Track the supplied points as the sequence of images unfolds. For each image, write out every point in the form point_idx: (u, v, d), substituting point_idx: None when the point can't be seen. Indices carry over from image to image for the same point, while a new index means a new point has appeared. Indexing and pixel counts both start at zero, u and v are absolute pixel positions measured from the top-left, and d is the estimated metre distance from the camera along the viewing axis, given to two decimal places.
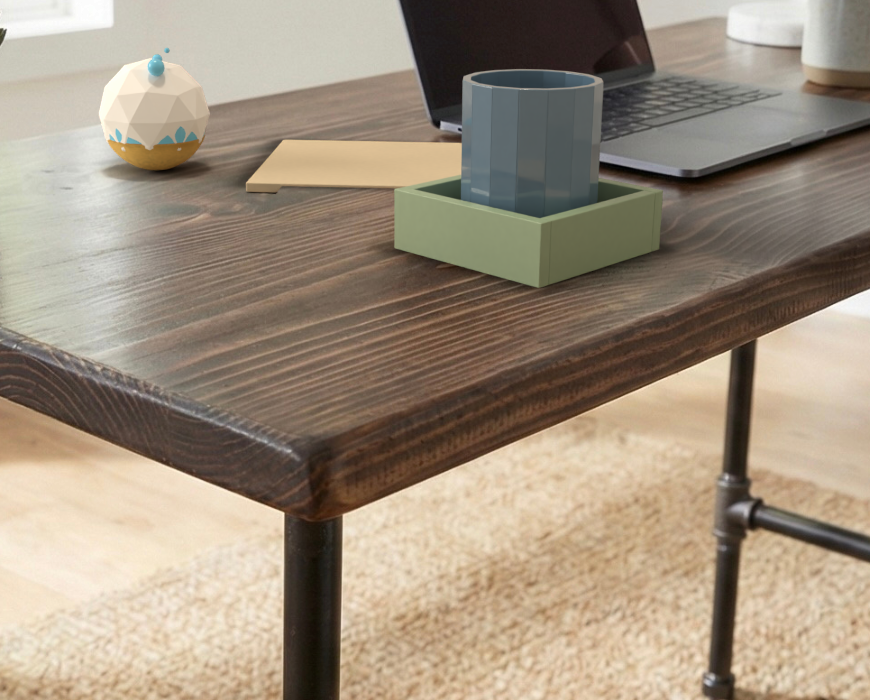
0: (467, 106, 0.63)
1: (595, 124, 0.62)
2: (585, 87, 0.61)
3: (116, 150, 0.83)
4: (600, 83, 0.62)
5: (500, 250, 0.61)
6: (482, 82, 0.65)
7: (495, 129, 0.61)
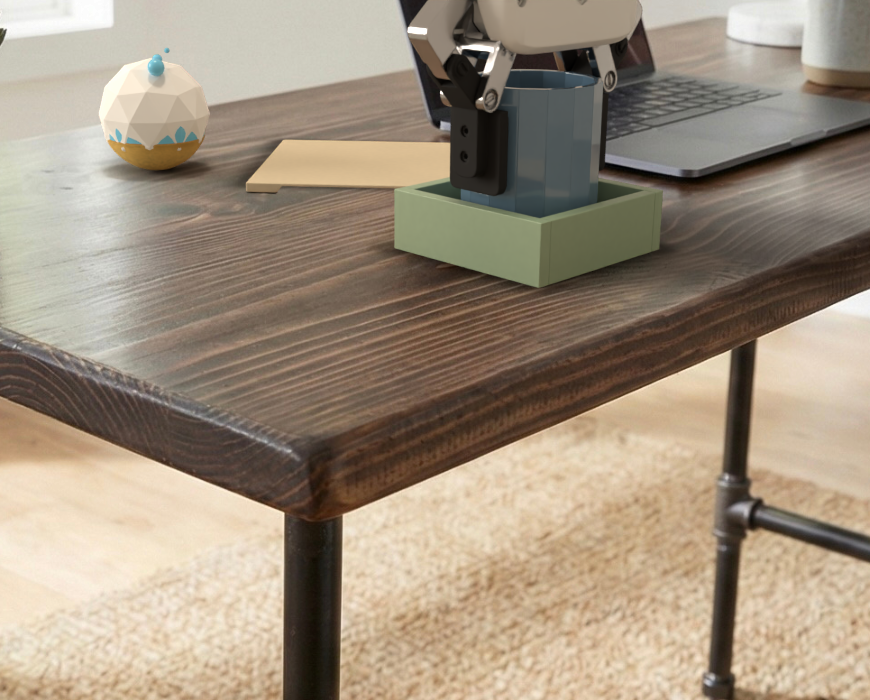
0: None
1: (595, 124, 0.62)
2: (585, 87, 0.61)
3: (116, 150, 0.83)
4: (600, 83, 0.62)
5: (500, 250, 0.61)
6: None
7: None
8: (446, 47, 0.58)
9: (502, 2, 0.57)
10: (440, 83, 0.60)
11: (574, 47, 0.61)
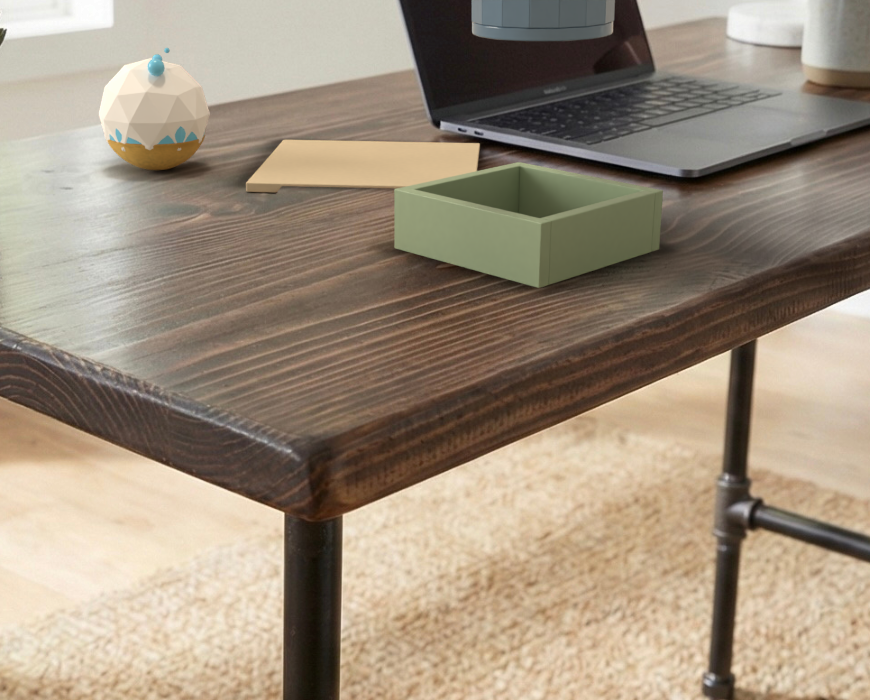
0: None
1: None
2: None
3: (116, 150, 0.83)
4: None
5: (500, 250, 0.61)
6: None
7: None
8: None
9: None
10: None
11: None
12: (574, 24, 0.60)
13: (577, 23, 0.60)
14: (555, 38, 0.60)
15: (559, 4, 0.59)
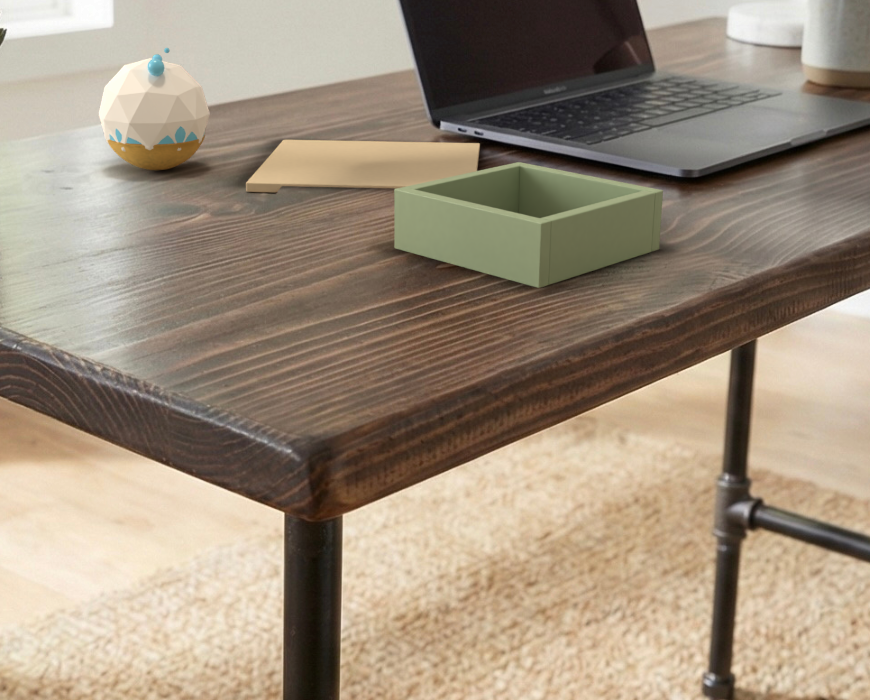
0: None
1: None
2: None
3: (116, 150, 0.83)
4: None
5: (500, 250, 0.61)
6: None
7: None
8: None
9: None
10: None
11: None
12: None
13: None
14: None
15: None
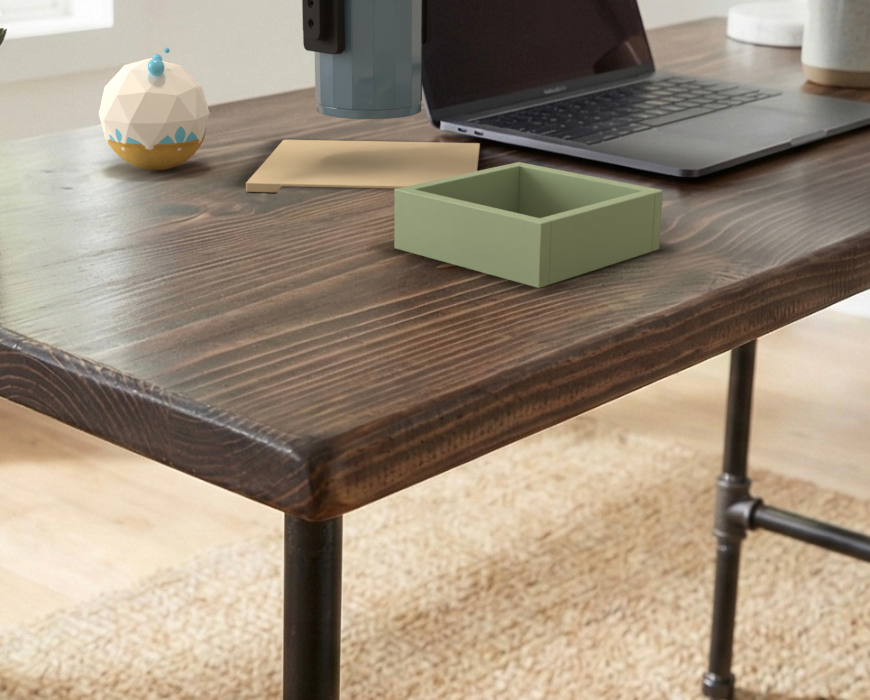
0: None
1: (415, 0, 0.80)
2: None
3: (116, 150, 0.83)
4: None
5: (500, 250, 0.61)
6: None
7: None
8: None
9: None
10: None
11: None
12: (386, 107, 0.81)
13: (388, 106, 0.81)
14: (371, 117, 0.81)
15: (374, 92, 0.81)
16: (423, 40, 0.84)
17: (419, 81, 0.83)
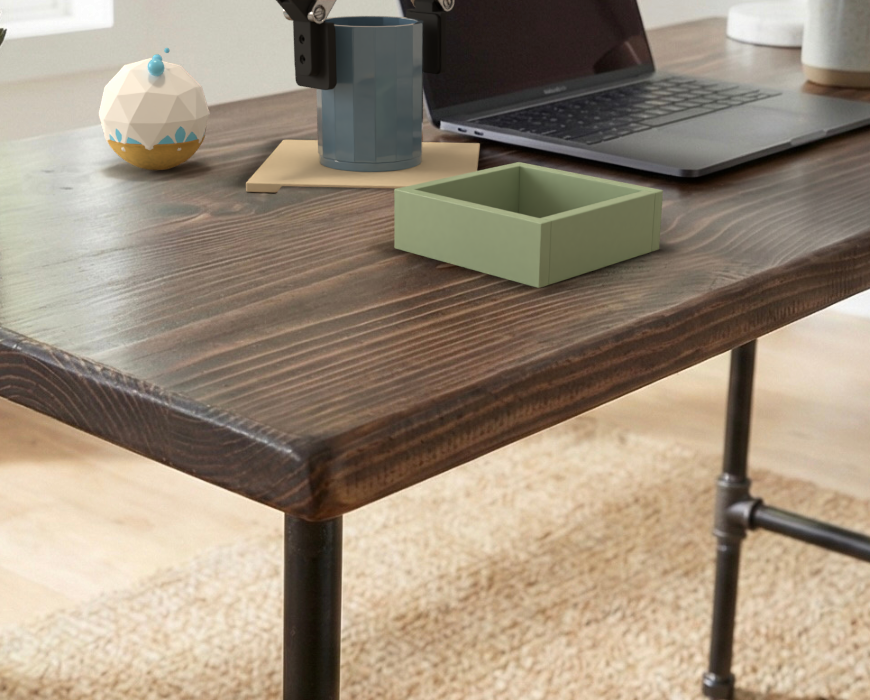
0: None
1: (415, 55, 0.82)
2: (405, 26, 0.80)
3: (116, 150, 0.83)
4: (419, 23, 0.81)
5: (500, 250, 0.61)
6: (334, 25, 0.84)
7: (337, 58, 0.80)
8: None
9: None
10: (280, 1, 0.77)
11: None
12: (387, 160, 0.82)
13: (389, 159, 0.82)
14: (373, 170, 0.82)
15: (375, 146, 0.82)
16: (438, 70, 0.86)
17: (420, 133, 0.84)
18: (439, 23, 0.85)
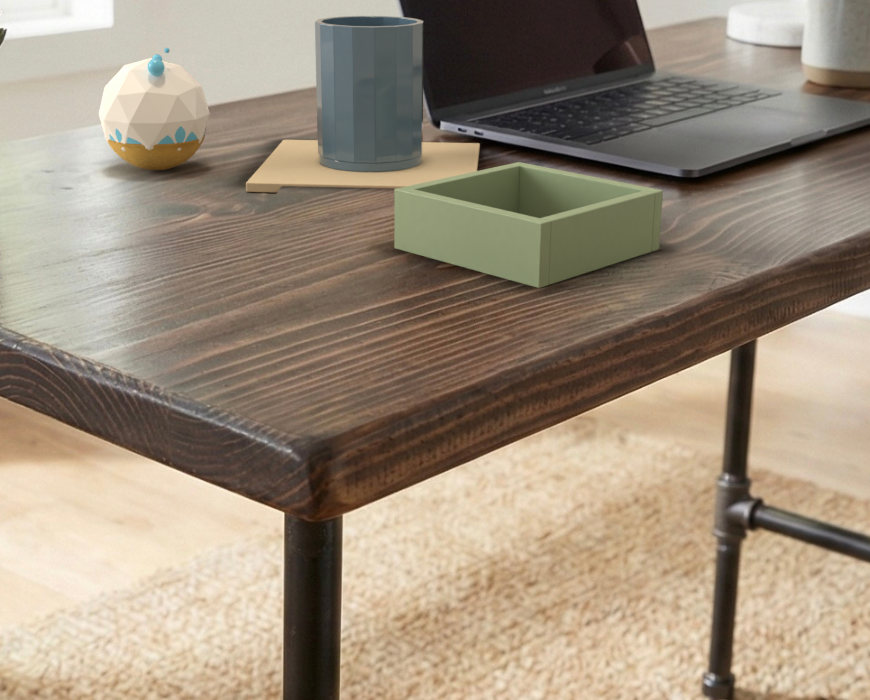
0: (318, 41, 0.82)
1: (415, 55, 0.82)
2: (405, 26, 0.80)
3: (116, 150, 0.83)
4: (419, 23, 0.81)
5: (500, 250, 0.61)
6: (334, 25, 0.84)
7: (337, 58, 0.80)
8: None
9: None
10: None
11: None
12: (387, 160, 0.82)
13: (389, 159, 0.82)
14: (373, 170, 0.82)
15: (375, 146, 0.82)
16: None
17: (420, 133, 0.84)
18: None
